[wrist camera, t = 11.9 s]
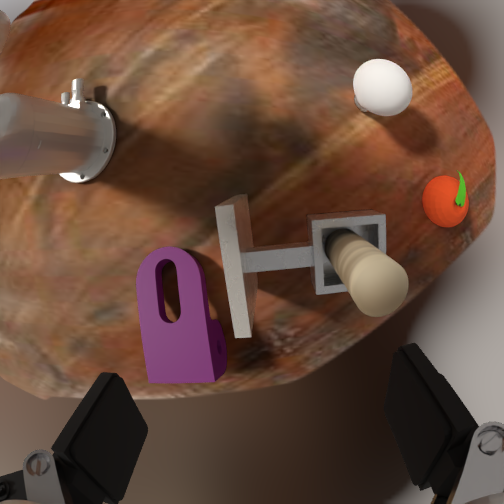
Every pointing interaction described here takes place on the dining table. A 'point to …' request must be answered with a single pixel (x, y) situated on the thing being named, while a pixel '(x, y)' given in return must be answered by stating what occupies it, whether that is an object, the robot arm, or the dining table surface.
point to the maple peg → (366, 273)
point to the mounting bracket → (178, 323)
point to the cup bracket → (283, 253)
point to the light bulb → (381, 88)
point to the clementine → (445, 200)
